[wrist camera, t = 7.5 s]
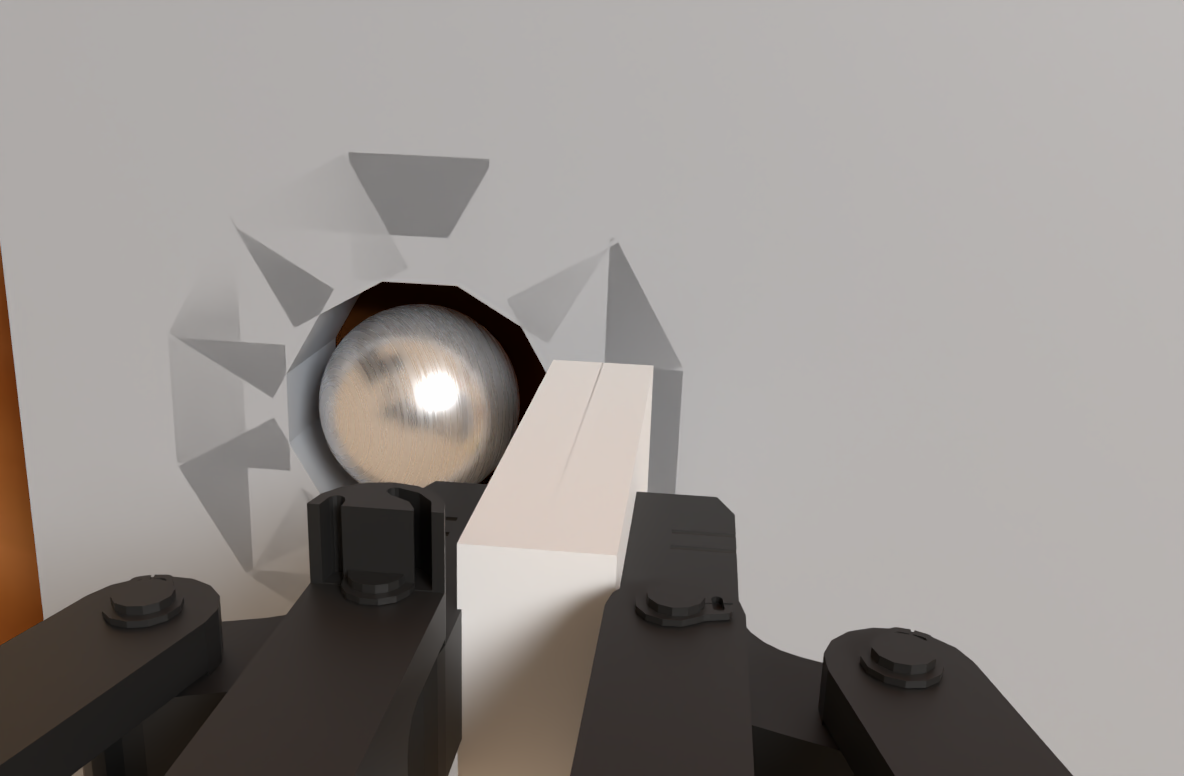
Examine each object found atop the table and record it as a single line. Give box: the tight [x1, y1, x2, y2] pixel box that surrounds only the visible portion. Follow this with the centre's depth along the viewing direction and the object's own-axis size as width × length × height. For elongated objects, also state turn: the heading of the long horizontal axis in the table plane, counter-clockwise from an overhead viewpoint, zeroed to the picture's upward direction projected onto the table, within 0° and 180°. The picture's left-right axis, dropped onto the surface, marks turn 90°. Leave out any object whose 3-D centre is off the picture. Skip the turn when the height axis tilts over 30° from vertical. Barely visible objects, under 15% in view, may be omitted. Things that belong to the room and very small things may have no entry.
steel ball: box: [319, 304, 520, 488], centre depth 19 cm, size 3×3×3 cm
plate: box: [0, 0, 1184, 776], centre depth 19 cm, size 28×24×2 cm
